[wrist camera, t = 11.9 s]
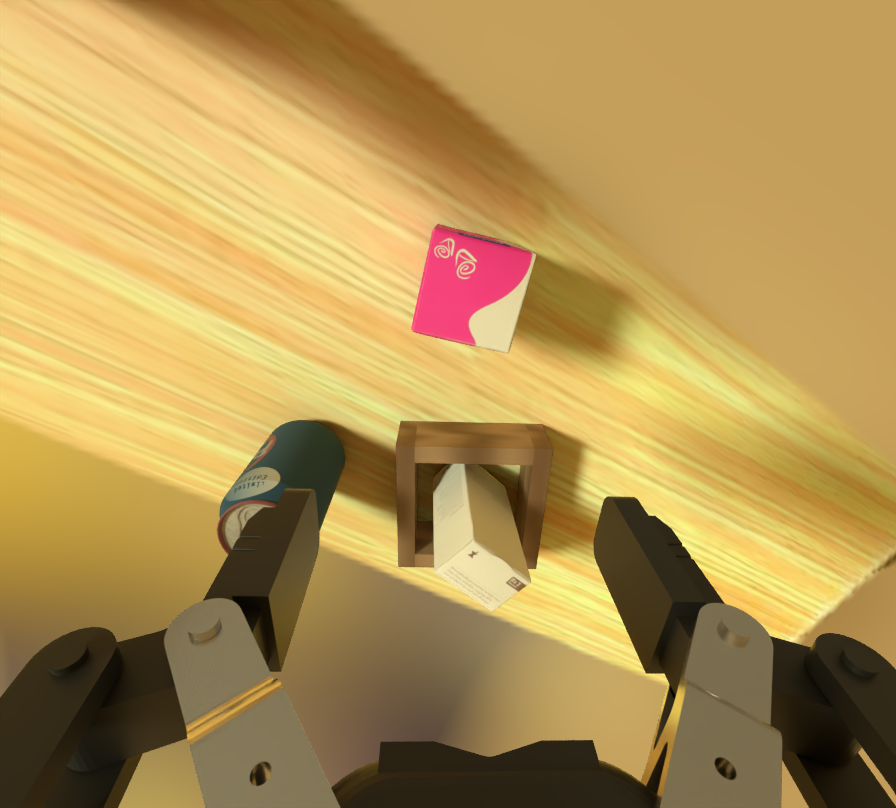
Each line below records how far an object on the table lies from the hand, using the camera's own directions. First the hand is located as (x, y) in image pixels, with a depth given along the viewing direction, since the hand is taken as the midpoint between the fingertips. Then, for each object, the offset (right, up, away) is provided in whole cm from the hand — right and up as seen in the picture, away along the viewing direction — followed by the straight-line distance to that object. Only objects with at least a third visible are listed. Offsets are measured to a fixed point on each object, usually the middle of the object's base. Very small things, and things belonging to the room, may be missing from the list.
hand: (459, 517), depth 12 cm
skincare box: (+2, -4, +30) cm, 30 cm away
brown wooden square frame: (+2, -4, +30) cm, 30 cm away
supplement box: (+1, +14, +22) cm, 26 cm away
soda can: (-13, -1, +28) cm, 31 cm away
